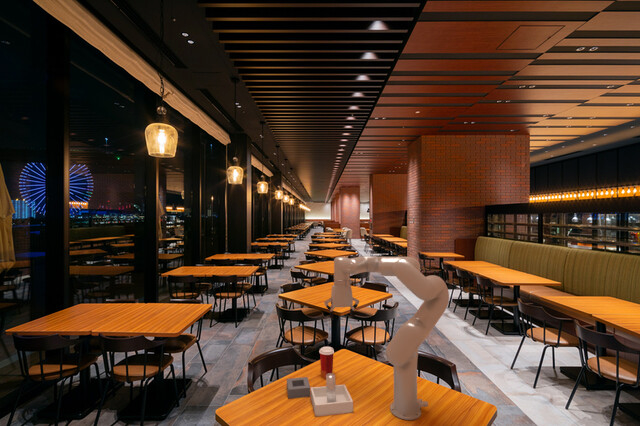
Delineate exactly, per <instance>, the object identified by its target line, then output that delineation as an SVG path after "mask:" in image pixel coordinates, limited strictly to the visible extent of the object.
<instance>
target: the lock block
mask: <svg viewBox="0 0 640 426" xmlns="http://www.w3.org/2000/svg"><path fill="white" fill-rule="evenodd" d="M286 391H287V398H288V400H289V399H299V398H308V397H310V398H311V386H310V382H309V378H308V376H306V377H305V376H303V377H302V376H301V377H292V378H286Z"/></svg>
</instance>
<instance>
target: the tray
mask: <svg viewBox="0 0 640 426" xmlns="http://www.w3.org/2000/svg"><path fill="white" fill-rule="evenodd" d="M310 400H311V405H312V409H313V413H314V416H315V417H324V416H333V415H341V414H350V413H354V400H353V399H352V396H351V394H350V392H349V391H348V388H347V386H346V384H337V385H336V402H333V403H327V389H326V385H325V386H314V387H312V386H311V387H310Z"/></svg>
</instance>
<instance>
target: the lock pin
mask: <svg viewBox="0 0 640 426" xmlns="http://www.w3.org/2000/svg"><path fill="white" fill-rule="evenodd" d="M325 382H326V384H325V386H326V389H327V403H333V402H336V374H335V373H334V372H332V373H328V374H327V375H326V379H325Z"/></svg>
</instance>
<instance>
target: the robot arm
mask: <svg viewBox="0 0 640 426" xmlns="http://www.w3.org/2000/svg"><path fill="white" fill-rule="evenodd" d="M420 270H421V265H420V261H419V260H418V259H417V258H415V257H412V256H356V257H353V258H352V257H351V258H349V257H347V256H337V257H335V258H334V260H333V285H332V287H331V294H330V298H328V299H326V300H325V301H324V302H323V304H324V305H325V308H326V309H327V310H329V318H330V319H331V321H334V317H335V316H334V310H335V308H350V309H349V318H350V319H351V320H353V319H354V317H355V310H356V309H357V307H359V306H358V305H359V303H360V300H359V299H357V298H355V297H353V290H352V285H351V284H352V283H353V280H352V279H350V275H353V276H354V275H358V274H361V273H378V274H380V275H381V276H383V277H396V279H397V280H399V281H400V282H401V283H402V284H403V285H404V286H405V287H406V288H407V290H409V291H410V292H411V293H412V294H413V295H414V296H415V297H416V298H418V299H419V300H421V301H423V302H422V303H421V305H420V306H419V307H418V310H416V312H415V313H414V314H413V316H412V317H410V318H409V319H408V320H406V321H405V322H404V323H402V325H401V326H400V327H399V328H398V330H397V331H396V333H395V334H394V335H393V337H392V339H391V340H390V341H389V342H388V344H387V346H386V349H385V356H386V357H385V358H386V360H387V361H388V362H389V363H390V364H391V365H392V366H393V402H391V403H390V406H389V410H390V412H391V413H392V415H393V416H395V417H397V418H398V419H401V420H406V421H413V420H417V419H418V418H419V419H420V417H421V415H422V409H421V408H423V407H424V408H426V407H429V402H428V401H427V400H425V401H423V399H422V398H418V357H419V347H420V346H422V344H423V343H424V342H425V341H426V340H427V338H428V337H429V335H430V334H431V332H432V330H433V329H434V328H435V326H437V323H438V322H439V320H440V319H441V317H442V316H443V315H444V313H445V312H446V310H447V307H448V305H449V300H450V293H449V289H448V286H447V284H446V282H445V281H444V279H443V278H441V277H440V276H438V275H435V274H433V275H427V276H425V275H424V274H423V273H422V272H421V271H420ZM353 302H355V303H353ZM329 303H330V305H329Z"/></svg>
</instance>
